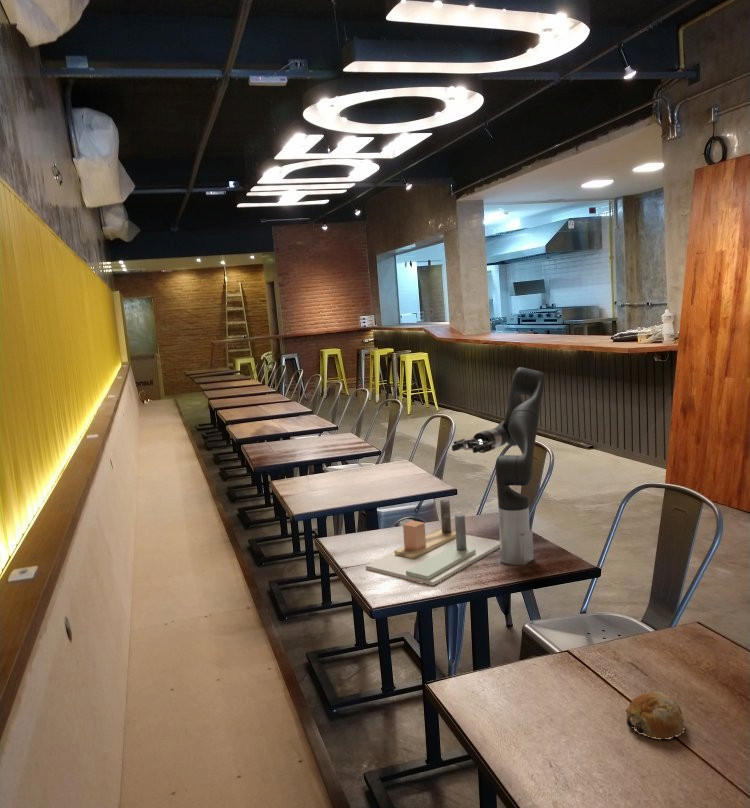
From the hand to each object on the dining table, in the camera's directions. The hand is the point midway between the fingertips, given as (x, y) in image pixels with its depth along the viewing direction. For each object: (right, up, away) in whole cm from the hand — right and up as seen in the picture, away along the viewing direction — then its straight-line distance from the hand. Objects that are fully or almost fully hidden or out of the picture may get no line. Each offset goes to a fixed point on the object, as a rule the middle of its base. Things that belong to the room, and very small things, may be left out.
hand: (463, 449), depth 247 cm
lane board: (-11, -34, -19) cm, 40 cm away
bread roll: (+22, -45, -114) cm, 125 cm away
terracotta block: (-18, -31, -16) cm, 39 cm away
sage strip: (-10, -33, -29) cm, 45 cm away
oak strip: (-13, -31, -11) cm, 35 cm away
